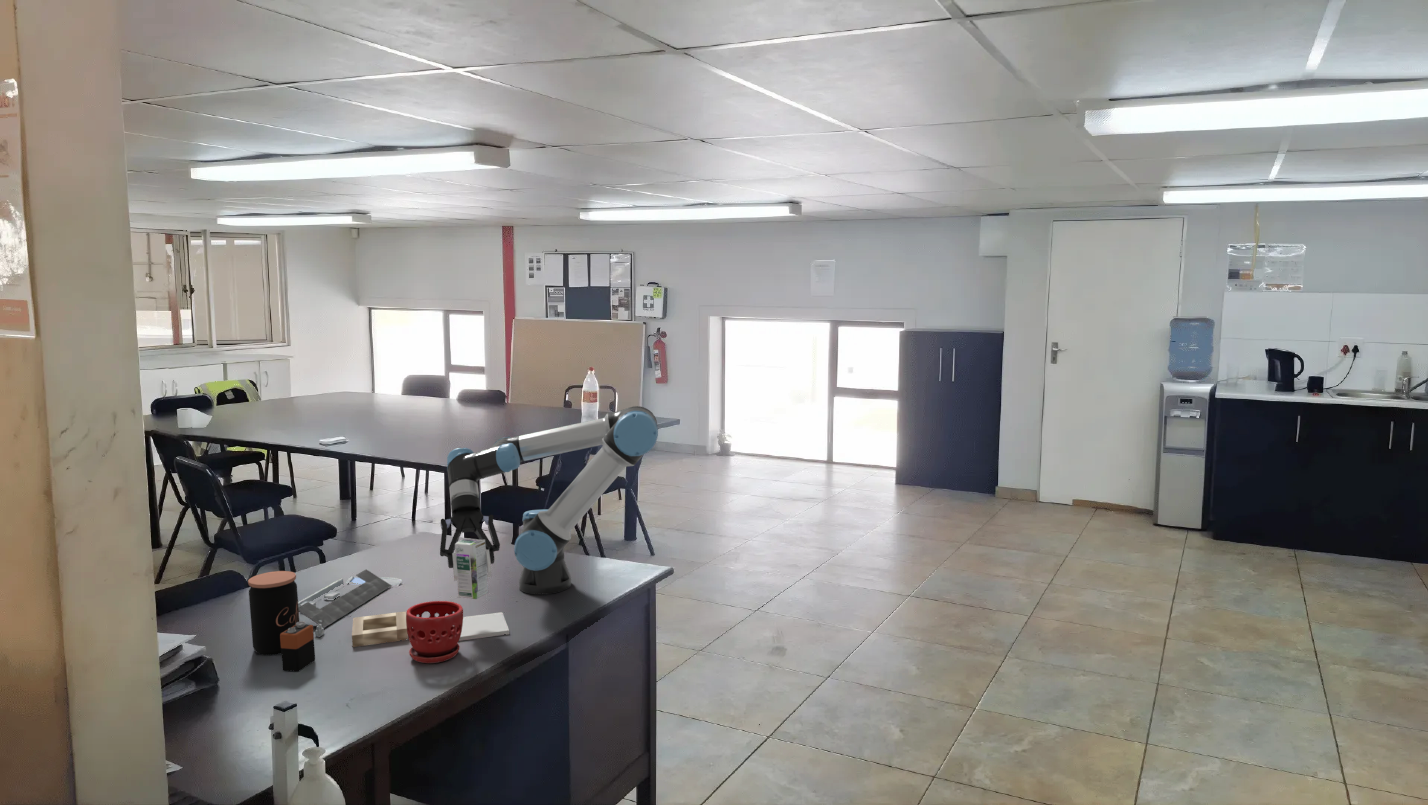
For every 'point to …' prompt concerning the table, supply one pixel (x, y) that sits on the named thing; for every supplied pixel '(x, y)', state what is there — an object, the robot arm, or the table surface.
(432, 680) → the table surface
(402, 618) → the wooden holder
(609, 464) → the robot arm
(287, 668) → the battery
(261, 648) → the coffee jar
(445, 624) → the plant pot
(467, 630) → the white mat
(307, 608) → the paper cutter
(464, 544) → the syrup box
